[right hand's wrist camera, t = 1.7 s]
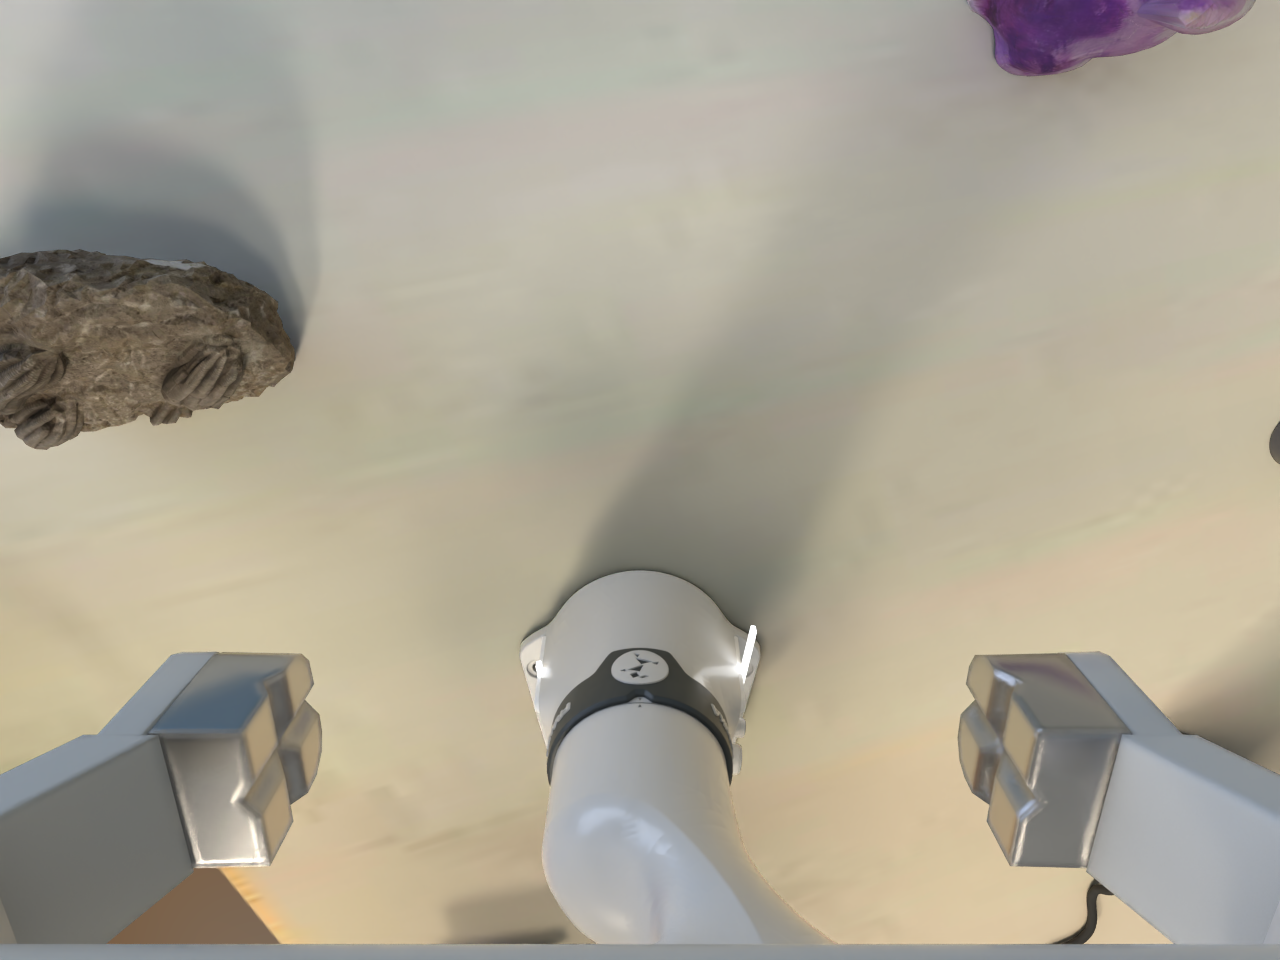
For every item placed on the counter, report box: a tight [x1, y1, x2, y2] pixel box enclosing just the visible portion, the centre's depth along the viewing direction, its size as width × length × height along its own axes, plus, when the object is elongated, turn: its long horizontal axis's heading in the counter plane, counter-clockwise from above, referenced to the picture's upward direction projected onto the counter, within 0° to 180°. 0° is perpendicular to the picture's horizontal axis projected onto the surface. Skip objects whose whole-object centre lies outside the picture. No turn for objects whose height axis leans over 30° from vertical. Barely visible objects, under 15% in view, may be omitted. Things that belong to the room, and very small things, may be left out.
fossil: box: [0, 249, 295, 450], centre depth 53 cm, size 22×10×15 cm
